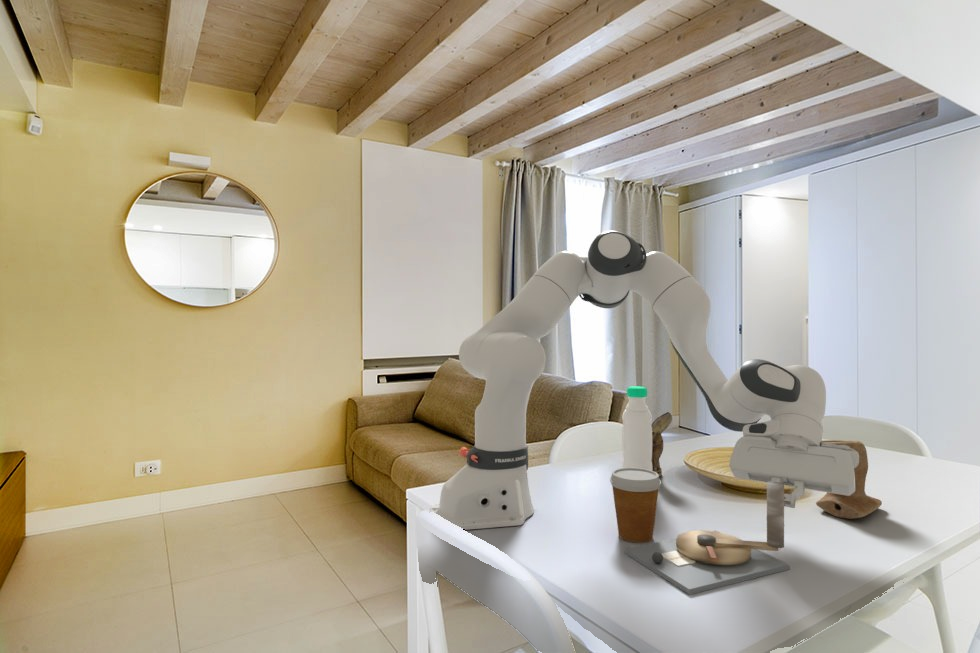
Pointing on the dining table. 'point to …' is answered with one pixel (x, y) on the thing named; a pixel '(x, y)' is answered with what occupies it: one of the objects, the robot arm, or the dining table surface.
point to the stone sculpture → (659, 440)
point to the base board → (701, 567)
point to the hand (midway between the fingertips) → (784, 505)
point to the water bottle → (637, 430)
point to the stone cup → (858, 501)
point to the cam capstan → (731, 548)
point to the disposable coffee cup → (635, 502)
